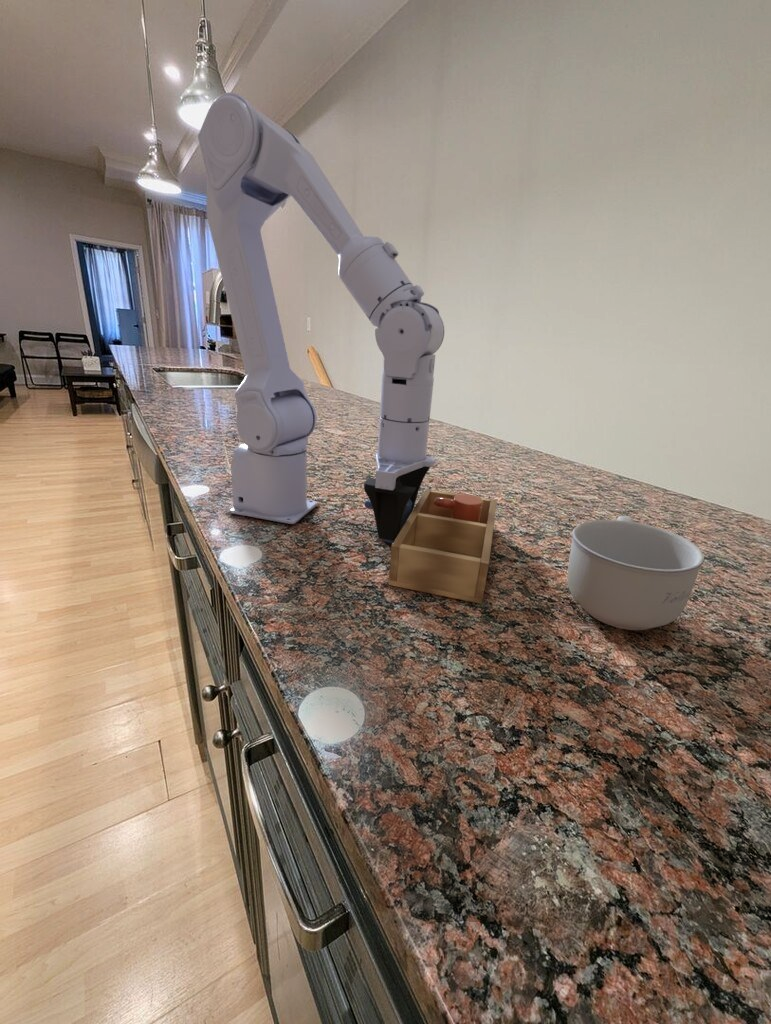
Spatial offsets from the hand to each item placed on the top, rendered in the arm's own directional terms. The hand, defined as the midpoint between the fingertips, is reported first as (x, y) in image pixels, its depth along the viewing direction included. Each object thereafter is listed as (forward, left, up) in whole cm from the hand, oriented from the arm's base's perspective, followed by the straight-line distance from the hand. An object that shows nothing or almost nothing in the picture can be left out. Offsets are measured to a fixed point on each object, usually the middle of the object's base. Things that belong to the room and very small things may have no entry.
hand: (395, 526), depth 56 cm
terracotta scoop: (+7, +2, -1) cm, 8 cm away
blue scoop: (-1, 0, -2) cm, 2 cm away
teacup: (+25, -6, -2) cm, 26 cm away
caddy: (+7, -2, -2) cm, 7 cm away
